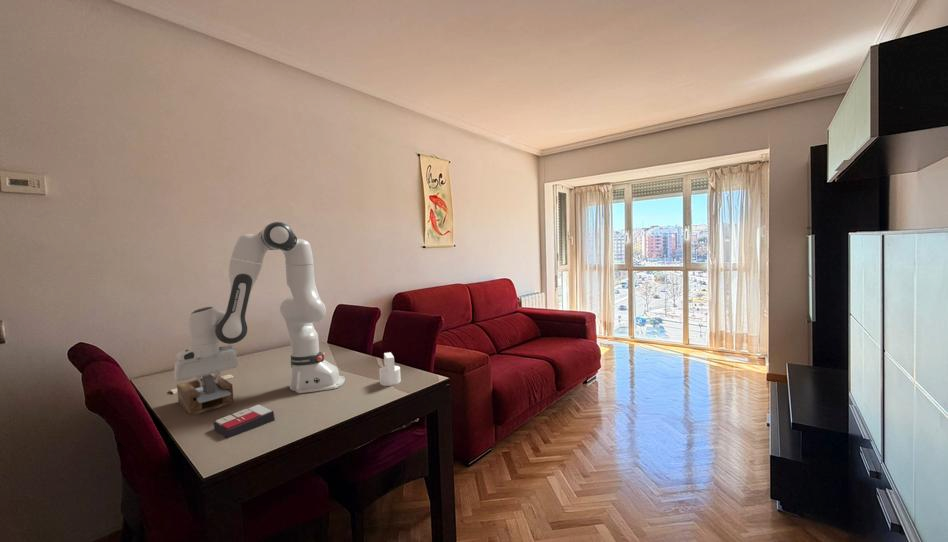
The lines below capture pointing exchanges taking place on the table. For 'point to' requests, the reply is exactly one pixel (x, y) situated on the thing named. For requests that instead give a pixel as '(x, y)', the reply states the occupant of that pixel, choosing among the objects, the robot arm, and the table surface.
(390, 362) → the cylinder with rectangular tab
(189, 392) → the walnut box
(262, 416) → the black red flat block
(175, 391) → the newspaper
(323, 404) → the table surface
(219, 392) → the cover plate
